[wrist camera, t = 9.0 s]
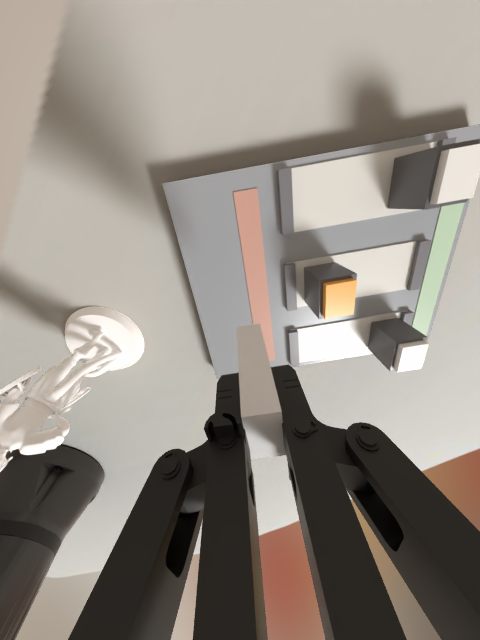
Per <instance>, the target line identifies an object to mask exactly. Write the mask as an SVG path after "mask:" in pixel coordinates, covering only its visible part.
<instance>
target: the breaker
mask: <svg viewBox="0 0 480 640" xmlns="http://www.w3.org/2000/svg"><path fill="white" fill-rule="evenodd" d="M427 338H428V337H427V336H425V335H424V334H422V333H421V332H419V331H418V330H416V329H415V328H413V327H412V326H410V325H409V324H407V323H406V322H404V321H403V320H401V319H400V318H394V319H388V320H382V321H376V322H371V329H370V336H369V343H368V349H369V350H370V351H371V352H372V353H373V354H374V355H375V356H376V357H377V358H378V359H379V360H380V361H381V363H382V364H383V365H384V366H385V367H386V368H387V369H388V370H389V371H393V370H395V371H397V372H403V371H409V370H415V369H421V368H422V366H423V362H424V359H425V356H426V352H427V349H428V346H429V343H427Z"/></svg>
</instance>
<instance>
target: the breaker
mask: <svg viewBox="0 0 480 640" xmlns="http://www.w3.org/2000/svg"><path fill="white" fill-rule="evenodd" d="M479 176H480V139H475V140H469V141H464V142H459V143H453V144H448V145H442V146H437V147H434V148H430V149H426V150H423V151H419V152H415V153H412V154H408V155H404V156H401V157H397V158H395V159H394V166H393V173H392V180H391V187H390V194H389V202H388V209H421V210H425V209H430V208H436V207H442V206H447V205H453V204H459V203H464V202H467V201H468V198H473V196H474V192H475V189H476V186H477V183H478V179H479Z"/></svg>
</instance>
